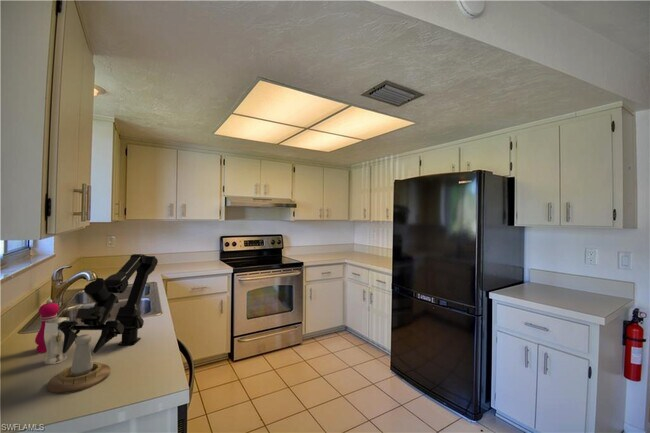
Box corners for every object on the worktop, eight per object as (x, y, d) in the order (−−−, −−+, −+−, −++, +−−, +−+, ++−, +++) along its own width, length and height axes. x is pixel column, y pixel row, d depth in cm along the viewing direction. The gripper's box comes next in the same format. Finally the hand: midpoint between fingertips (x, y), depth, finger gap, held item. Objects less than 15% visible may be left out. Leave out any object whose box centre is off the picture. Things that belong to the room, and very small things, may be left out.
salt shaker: (94, 369, 101) (96, 331, 101) (90, 377, 96) (91, 337, 96) (73, 372, 98) (75, 333, 98) (67, 381, 93) (69, 340, 93)
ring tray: (71, 367, 103) (71, 359, 103) (119, 366, 106) (120, 357, 106) (32, 394, 88) (33, 384, 88) (91, 392, 90) (91, 382, 90)
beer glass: (49, 357, 110) (50, 317, 110) (71, 355, 113) (73, 316, 113) (38, 366, 104) (40, 324, 104) (62, 363, 106) (64, 322, 106)
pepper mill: (64, 345, 120) (66, 297, 121) (48, 353, 113) (50, 302, 113) (46, 345, 120) (48, 296, 120) (29, 353, 113) (31, 301, 113)
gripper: (63, 297, 100) (32, 343, 89) (120, 297, 102) (98, 342, 91) (78, 312, 108) (53, 356, 97) (132, 312, 110) (113, 355, 99)
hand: (78, 352), depth 95 cm, fingers open, 9 cm apart
